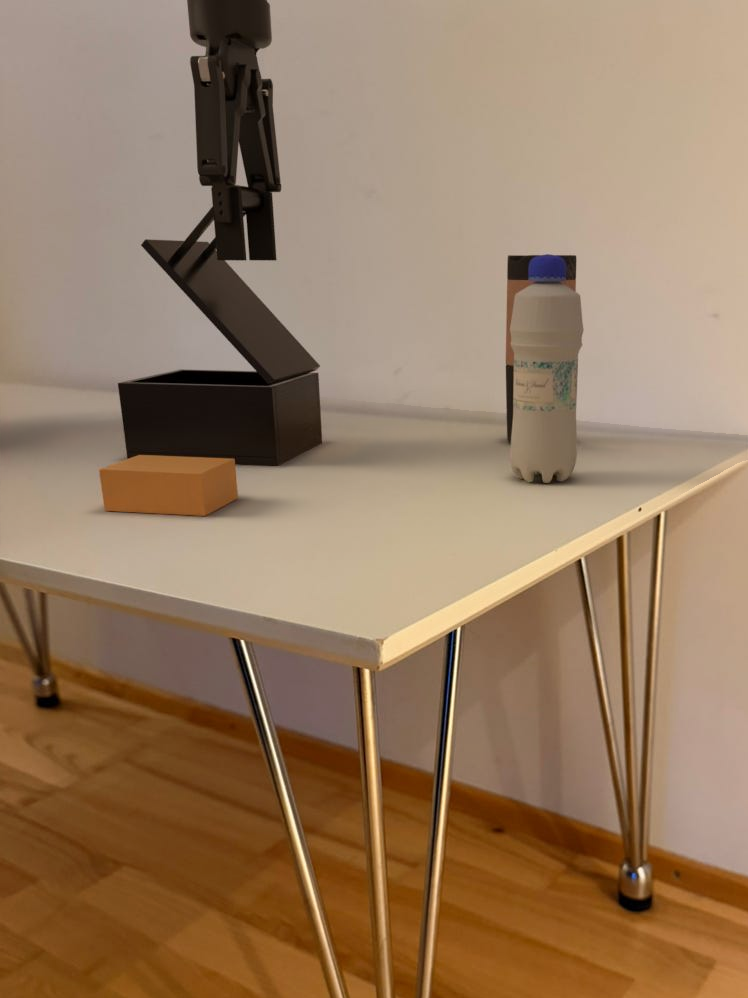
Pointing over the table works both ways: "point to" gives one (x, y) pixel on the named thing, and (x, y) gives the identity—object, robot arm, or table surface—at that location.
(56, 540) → the table surface
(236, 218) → the robot arm
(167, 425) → the open dark storage box
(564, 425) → the bottle
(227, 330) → the maker lid
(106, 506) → the orange rectangular block
